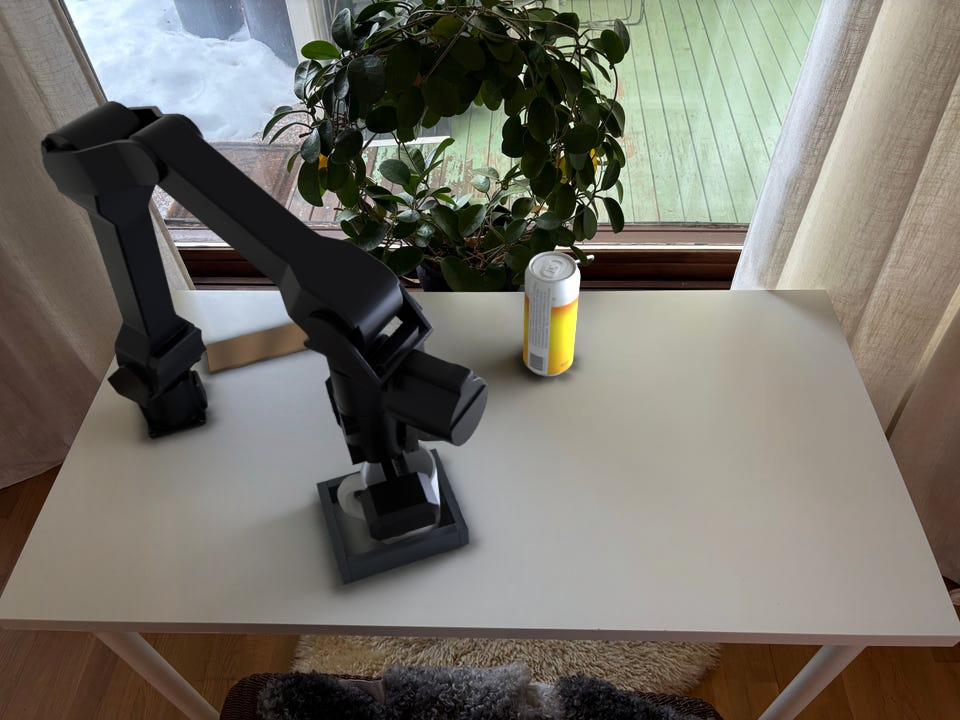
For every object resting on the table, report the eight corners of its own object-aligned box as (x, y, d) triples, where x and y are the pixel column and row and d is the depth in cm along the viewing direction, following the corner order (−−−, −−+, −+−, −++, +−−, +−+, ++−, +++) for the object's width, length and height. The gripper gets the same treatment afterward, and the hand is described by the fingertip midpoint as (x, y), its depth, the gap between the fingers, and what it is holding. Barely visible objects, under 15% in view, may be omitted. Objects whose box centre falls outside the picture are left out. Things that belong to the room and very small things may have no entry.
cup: (442, 549, 79) (436, 497, 73) (342, 555, 79) (328, 504, 72) (440, 489, 84) (435, 437, 78) (347, 495, 84) (334, 442, 77)
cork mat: (210, 374, 97) (209, 371, 96) (206, 347, 100) (205, 344, 100) (330, 343, 100) (329, 340, 100) (322, 318, 103) (321, 315, 103)
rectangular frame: (343, 585, 76) (338, 569, 74) (321, 499, 83) (316, 483, 81) (469, 543, 79) (468, 527, 77) (437, 464, 86) (435, 447, 84)
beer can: (579, 352, 98) (588, 257, 87) (562, 385, 94) (569, 289, 83) (534, 339, 100) (537, 244, 89) (515, 370, 96) (516, 275, 85)
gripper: (495, 445, 63) (497, 549, 74) (427, 301, 75) (437, 408, 86) (359, 486, 60) (382, 587, 71) (312, 330, 73) (337, 436, 84)
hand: (388, 496), depth 78 cm, fingers open, 9 cm apart
